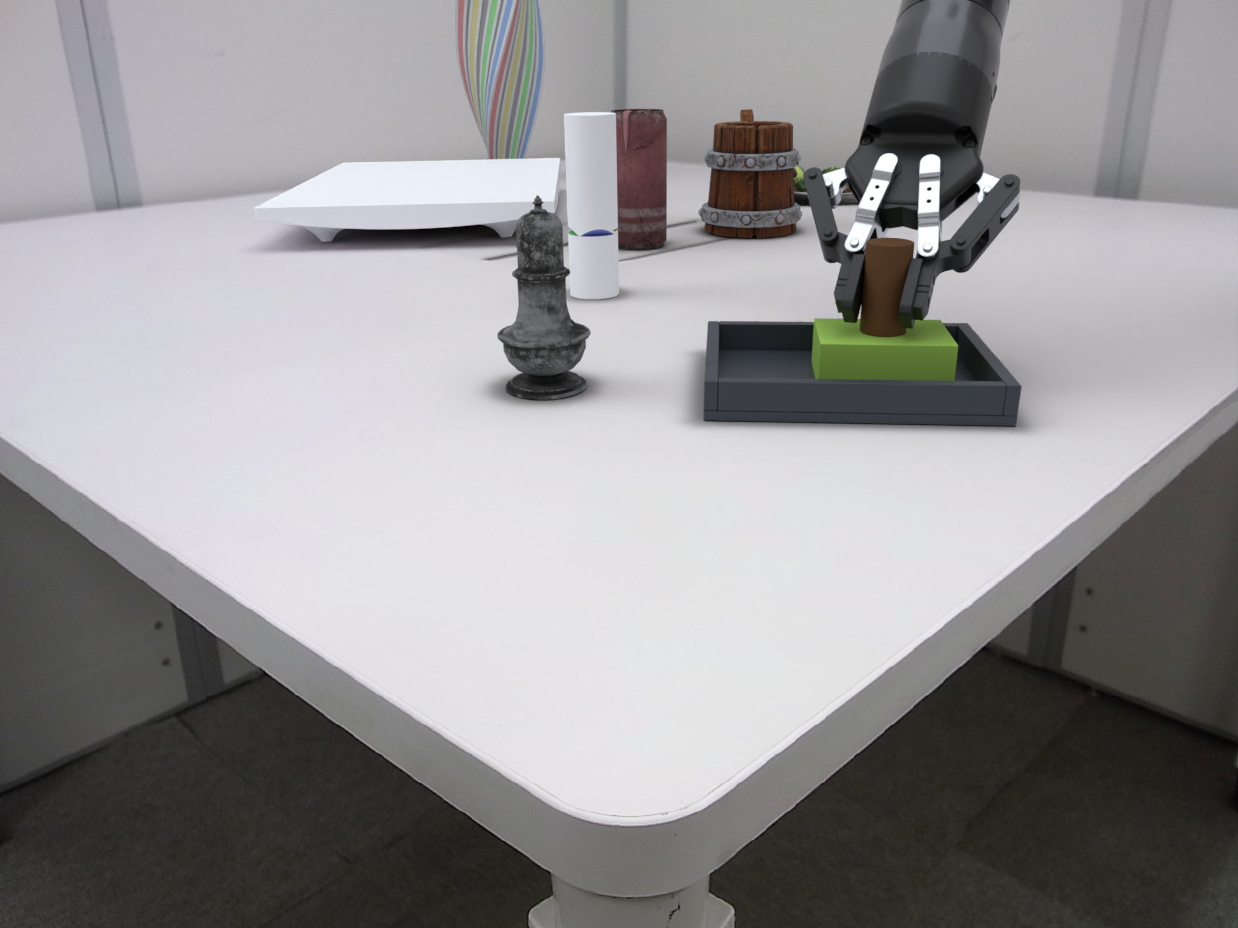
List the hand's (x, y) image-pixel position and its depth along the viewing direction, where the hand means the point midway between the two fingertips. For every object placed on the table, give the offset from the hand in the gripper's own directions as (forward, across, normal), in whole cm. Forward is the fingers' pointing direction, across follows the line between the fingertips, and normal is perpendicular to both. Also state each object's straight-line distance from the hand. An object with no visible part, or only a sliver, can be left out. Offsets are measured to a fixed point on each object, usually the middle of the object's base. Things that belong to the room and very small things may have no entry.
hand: (877, 317), depth 60 cm
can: (-25, -34, +32) cm, 54 cm away
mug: (-35, -27, +43) cm, 62 cm away
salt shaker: (+8, -20, -1) cm, 21 cm away
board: (-32, -67, +39) cm, 84 cm away
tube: (-9, -28, +17) cm, 34 cm away
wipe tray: (+3, -2, +4) cm, 6 cm away
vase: (-58, -78, +65) cm, 117 cm away
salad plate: (-55, -26, +62) cm, 87 cm away
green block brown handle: (+2, 0, +5) cm, 5 cm away
